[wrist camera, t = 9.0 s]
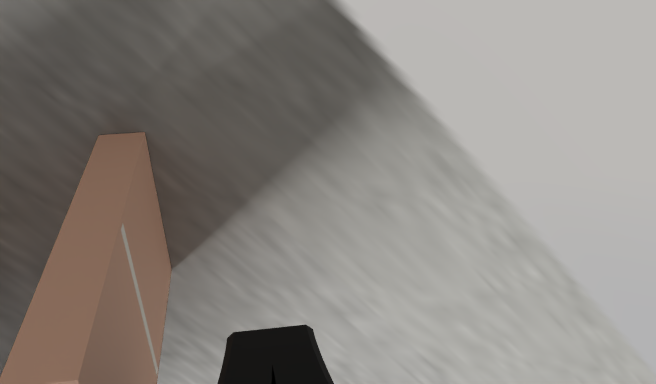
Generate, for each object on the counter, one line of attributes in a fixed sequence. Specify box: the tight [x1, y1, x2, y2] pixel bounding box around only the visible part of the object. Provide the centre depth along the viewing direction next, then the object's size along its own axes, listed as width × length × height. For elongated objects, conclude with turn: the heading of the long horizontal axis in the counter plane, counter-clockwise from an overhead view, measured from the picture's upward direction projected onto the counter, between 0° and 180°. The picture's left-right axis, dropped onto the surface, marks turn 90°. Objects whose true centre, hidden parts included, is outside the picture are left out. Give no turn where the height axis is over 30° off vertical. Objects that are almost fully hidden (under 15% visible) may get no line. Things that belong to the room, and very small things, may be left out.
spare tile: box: [0, 132, 172, 384], centre depth 12 cm, size 1×4×7 cm, turn 1°
